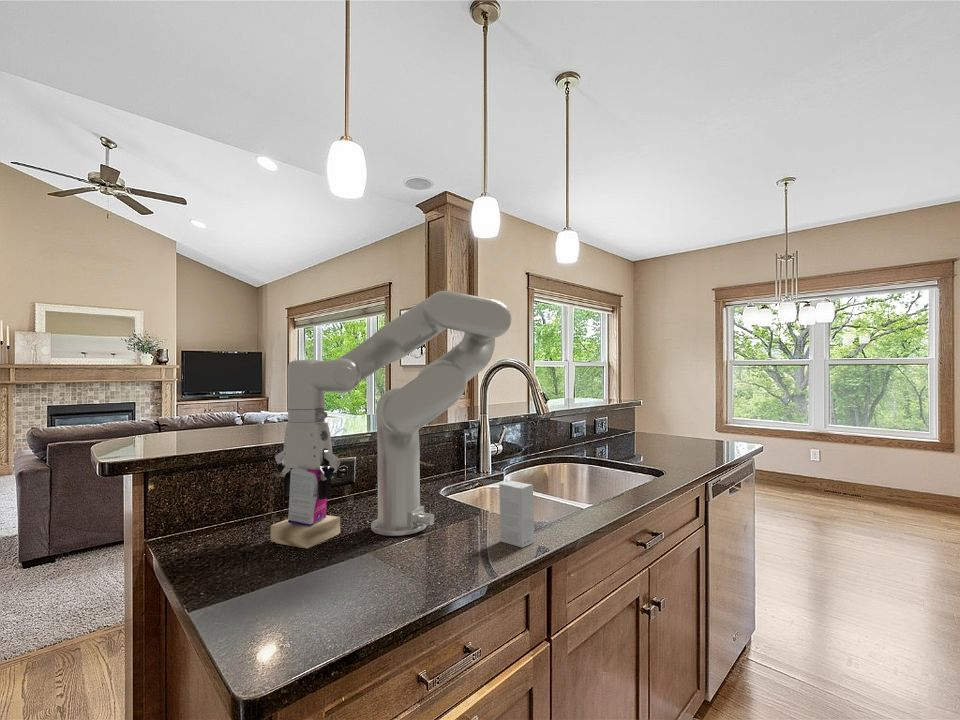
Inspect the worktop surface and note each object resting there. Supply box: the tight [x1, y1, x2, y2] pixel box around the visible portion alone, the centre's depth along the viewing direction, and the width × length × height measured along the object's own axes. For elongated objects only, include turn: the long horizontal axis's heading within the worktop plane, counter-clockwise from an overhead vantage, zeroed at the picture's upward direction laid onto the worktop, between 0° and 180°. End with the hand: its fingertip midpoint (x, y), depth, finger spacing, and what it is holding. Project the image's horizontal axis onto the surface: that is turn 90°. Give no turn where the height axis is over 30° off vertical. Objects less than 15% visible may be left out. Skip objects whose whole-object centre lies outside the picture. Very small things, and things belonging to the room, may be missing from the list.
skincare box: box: [498, 480, 535, 549], centre depth 101 cm, size 6×4×12 cm
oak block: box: [270, 514, 341, 550], centre depth 106 cm, size 10×10×4 cm
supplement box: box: [287, 468, 328, 526], centre depth 105 cm, size 6×6×12 cm
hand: (307, 496), depth 106 cm, fingers open, 9 cm apart
